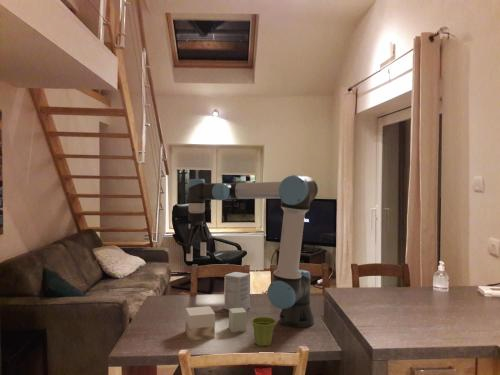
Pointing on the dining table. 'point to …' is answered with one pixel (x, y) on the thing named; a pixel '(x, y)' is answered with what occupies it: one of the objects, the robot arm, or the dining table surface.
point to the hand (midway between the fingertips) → (196, 258)
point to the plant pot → (263, 330)
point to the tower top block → (200, 317)
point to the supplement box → (237, 290)
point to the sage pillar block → (237, 319)
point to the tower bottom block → (200, 333)
